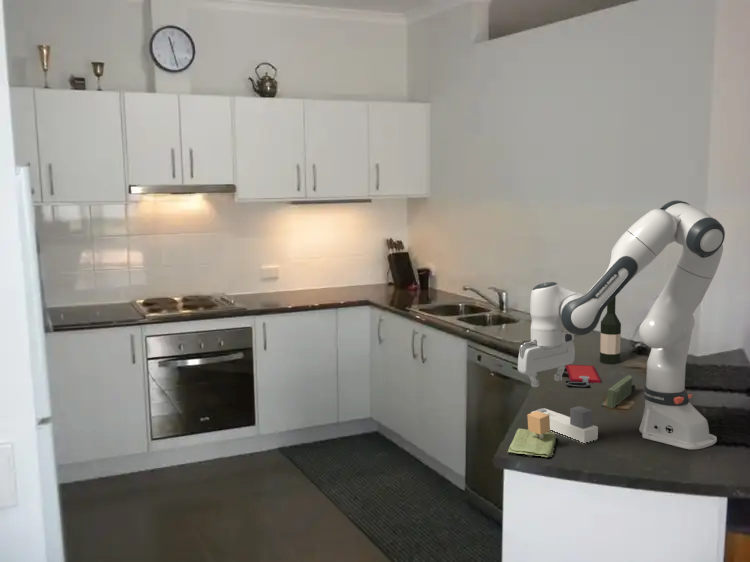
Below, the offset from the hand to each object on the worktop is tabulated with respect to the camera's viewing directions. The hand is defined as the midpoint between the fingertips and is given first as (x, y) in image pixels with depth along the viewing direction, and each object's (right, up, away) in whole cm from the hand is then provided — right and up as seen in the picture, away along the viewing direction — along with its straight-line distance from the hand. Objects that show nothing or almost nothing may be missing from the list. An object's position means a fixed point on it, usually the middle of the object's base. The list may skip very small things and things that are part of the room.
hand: (546, 383), depth 221 cm
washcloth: (-4, -20, +2) cm, 20 cm away
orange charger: (-2, -16, +2) cm, 17 cm away
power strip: (+8, -17, +14) cm, 23 cm away
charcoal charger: (+12, -16, +8) cm, 21 cm away
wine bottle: (+48, -4, +93) cm, 104 cm away
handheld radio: (+37, -12, +45) cm, 60 cm away
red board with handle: (+29, -8, +72) cm, 78 cm away
